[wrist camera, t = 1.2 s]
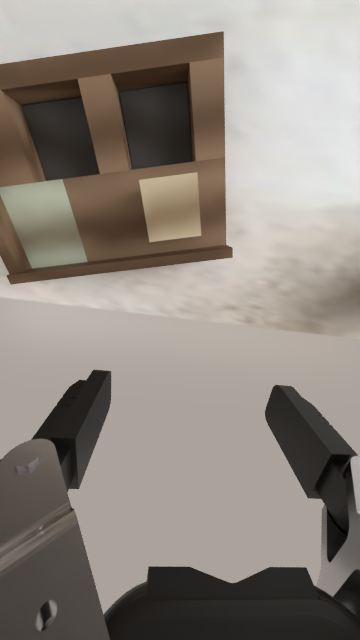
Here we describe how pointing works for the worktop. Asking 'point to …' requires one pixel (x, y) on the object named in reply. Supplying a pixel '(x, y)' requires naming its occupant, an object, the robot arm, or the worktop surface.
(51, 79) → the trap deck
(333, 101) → the worktop surface
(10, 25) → the worktop surface
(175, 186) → the maple block
